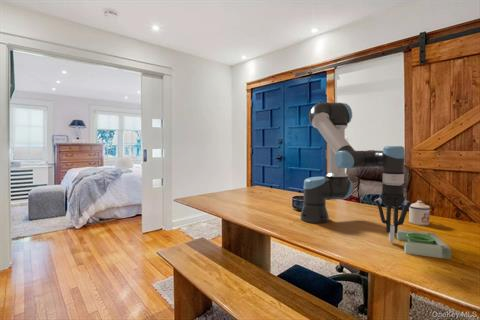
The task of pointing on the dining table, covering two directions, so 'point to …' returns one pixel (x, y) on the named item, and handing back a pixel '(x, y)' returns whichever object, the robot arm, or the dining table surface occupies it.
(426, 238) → the ramekin
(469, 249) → the dining table surface
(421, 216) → the teacup with lid
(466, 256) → the dining table surface
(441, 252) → the holder
